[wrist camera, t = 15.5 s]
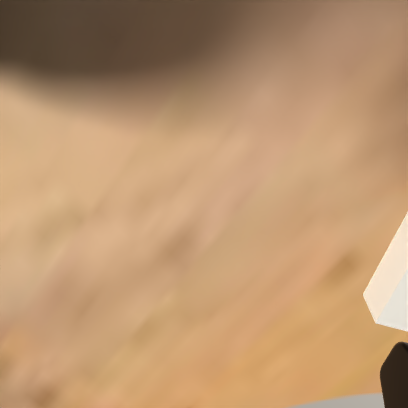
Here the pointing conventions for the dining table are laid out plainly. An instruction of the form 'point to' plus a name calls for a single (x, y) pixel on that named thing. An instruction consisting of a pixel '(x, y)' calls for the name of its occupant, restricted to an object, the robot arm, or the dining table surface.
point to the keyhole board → (391, 283)
